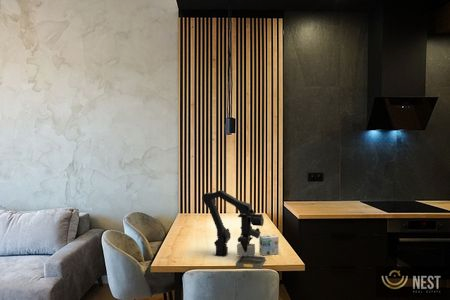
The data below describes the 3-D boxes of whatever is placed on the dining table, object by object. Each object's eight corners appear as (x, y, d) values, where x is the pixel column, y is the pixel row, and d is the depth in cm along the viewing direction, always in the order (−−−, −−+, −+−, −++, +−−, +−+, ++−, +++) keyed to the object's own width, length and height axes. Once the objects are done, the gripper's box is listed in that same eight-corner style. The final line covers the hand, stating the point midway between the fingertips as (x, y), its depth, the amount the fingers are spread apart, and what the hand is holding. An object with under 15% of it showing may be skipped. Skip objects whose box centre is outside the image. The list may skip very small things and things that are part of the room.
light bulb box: (262, 255, 221) (262, 237, 221) (259, 252, 228) (258, 235, 228) (279, 254, 224) (278, 236, 224) (275, 251, 230) (274, 234, 230)
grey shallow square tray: (235, 266, 201) (235, 263, 201) (241, 258, 215) (241, 255, 215) (260, 268, 197) (260, 265, 197) (265, 260, 212) (265, 256, 212)
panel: (237, 254, 217) (237, 244, 217) (238, 253, 221) (238, 243, 221) (253, 255, 215) (253, 245, 215) (255, 254, 219) (254, 243, 219)
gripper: (256, 228, 207) (256, 256, 207) (262, 222, 225) (262, 247, 225) (237, 227, 210) (237, 254, 210) (244, 221, 228) (244, 246, 228)
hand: (246, 250), depth 218 cm, fingers closed on panel, 4 cm apart
